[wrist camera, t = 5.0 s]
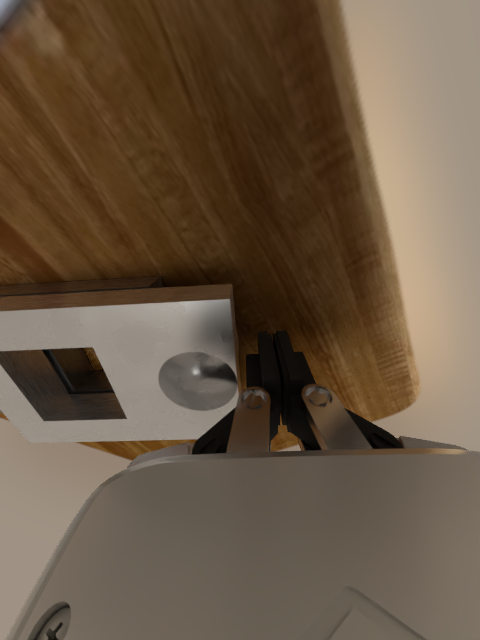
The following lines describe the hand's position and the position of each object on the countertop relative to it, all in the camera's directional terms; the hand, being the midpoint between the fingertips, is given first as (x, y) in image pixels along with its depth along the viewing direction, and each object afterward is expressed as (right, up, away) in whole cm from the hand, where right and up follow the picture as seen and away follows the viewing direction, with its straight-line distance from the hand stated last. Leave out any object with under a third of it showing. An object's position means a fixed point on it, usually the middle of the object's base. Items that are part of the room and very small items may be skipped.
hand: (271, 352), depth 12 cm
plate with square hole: (-9, 0, +2) cm, 9 cm away
